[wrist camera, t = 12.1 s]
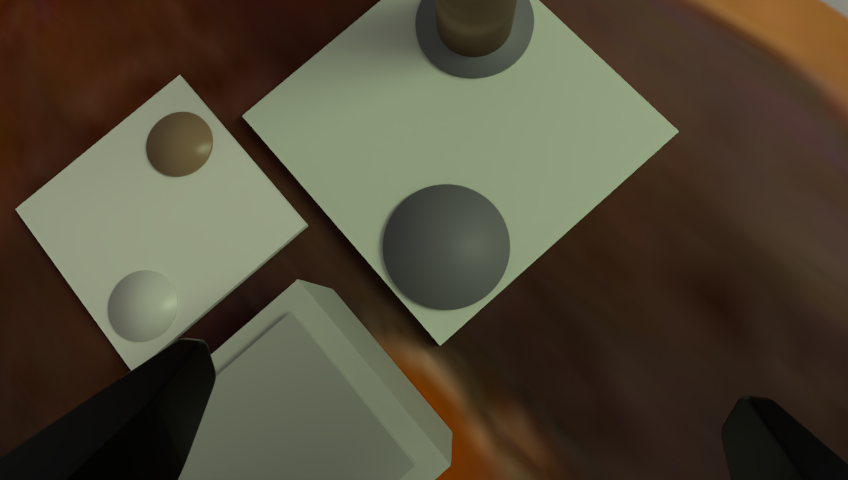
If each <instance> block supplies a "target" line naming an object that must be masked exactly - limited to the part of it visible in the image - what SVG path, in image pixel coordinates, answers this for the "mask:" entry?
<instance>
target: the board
mask: <svg viewBox="0 0 848 480" xmlns="http://www.w3.org/2000/svg"><path fill="white" fill-rule="evenodd" d="M242 117H243V118H244V119H245V120H246V121H247V122H248V124H249V125H250V126H251V127H252V128H253V129H254V131H255V132H256V133H257V134H258V135H259V136H260V137H261V139H262V140H263V141H264V142H265V143H266V144H267V146H268V147H269V148H270V149H271V150H272V151H273V153H274V154H275V155H276V156H277V157H278V158H279V160H280V161H281V162H282V163H283V164H284V165H285V166H286V168H287V169H288V170H289V171H290V172H291V173H292V175H293V176H294V177H295V178H296V179H297V180H298V182H299V183H300V184H301V185H302V186H303V187H304V189H305V190H306V191H307V192H308V193H309V194H310V195H311V197H312V198H313V199H314V200H315V201H316V202H317V204H318V205H319V206H320V207H321V208H322V209H323V211H324V212H325V213H326V214H327V215H328V216H329V218H330V219H331V220H332V221H333V222H334V223H335V224H336V226H337V227H338V228H339V229H340V230H341V231H342V233H343V234H344V235H345V236H346V237H347V238H348V240H349V241H350V242H351V243H352V244H353V245H354V247H355V248H356V249H357V250H358V251H359V252H360V253H361V255H362V256H363V257H364V258H365V259H366V260H367V262H368V263H369V264H370V265H371V266H372V267H373V269H374V270H375V271H376V272H377V273H378V274H379V276H380V277H381V278H382V279H383V280H384V281H385V282H386V284H387V285H388V286H389V287H390V288H391V289H392V291H393V292H394V293H395V294H396V295H397V296H398V298H399V299H400V300H401V301H402V302H403V303H404V305H405V306H406V307H407V308H408V309H409V310H410V311H411V313H412V314H413V315H414V316H415V317H416V318H417V320H418V321H419V322H420V323H421V324H422V325H423V327H424V328H425V329H426V330H427V331H428V332H429V334H430V335H431V336H432V337H433V338H434V339H435V340H436V342H437V343H438V344H439V345H442V344H443V343H444V342H445V341H446V340H447V339H448V338H449V337H451V336H452V335H453V334H454V333H455V332H456V331H457V330H458V329H459V328H461V327H462V326H463V325H464V324H465V323H466V322H467V321H468V320H469V319H471V318H472V317H473V316H474V315H475V314H476V313H477V312H478V311H479V310H481V309H482V308H483V307H484V306H485V305H486V304H487V303H488V302H490V301H491V300H492V299H493V298H494V297H495V296H496V295H497V294H498V293H500V292H501V291H502V290H503V289H504V288H505V287H506V286H507V285H508V284H510V283H511V282H512V281H513V280H514V279H515V278H516V277H517V276H518V275H520V274H521V273H522V272H523V271H524V270H525V269H526V268H527V267H528V266H530V265H531V264H532V263H533V262H534V261H535V260H536V259H537V258H539V257H540V256H541V255H542V254H543V253H544V252H545V251H546V250H547V249H549V248H550V247H551V246H552V245H553V244H554V243H555V242H556V241H557V240H559V239H560V238H561V237H562V236H563V235H564V234H565V233H566V232H567V231H569V230H570V229H571V228H572V227H573V226H574V225H575V224H576V223H578V222H579V221H580V220H581V219H582V218H583V217H584V216H585V215H586V214H588V213H589V212H590V211H591V210H592V209H593V208H594V207H595V206H596V205H598V204H599V203H600V202H601V201H602V200H603V199H604V198H605V197H606V196H608V195H609V194H610V193H611V192H612V191H613V190H614V189H615V188H617V187H618V186H619V185H620V184H621V183H622V182H623V181H624V180H625V179H627V178H628V177H629V176H630V175H631V174H632V173H633V172H634V171H635V170H637V169H638V168H639V167H640V166H641V165H642V164H643V163H644V162H645V161H647V160H648V159H649V158H650V157H651V156H652V155H653V154H654V153H655V152H657V151H658V150H659V149H660V148H661V147H662V146H663V145H664V144H666V143H667V142H668V141H669V140H670V139H671V138H672V137H673V136H674V135H676V134H677V133H678V132H679V131H678V130H677V129H676V128H675V127H674V126H673V125H671V124H670V123H669V122H668V121H667V120H666V119H665V118H664V117H663V116H662V115H661V114H660V113H659V112H658V111H657V110H655V109H654V108H653V107H652V106H651V105H650V104H649V103H648V102H647V101H646V100H645V99H644V98H643V97H642V96H641V95H639V94H638V93H637V92H636V91H635V90H634V89H633V88H632V87H631V86H630V85H629V84H628V83H627V82H626V81H624V80H623V79H622V78H621V77H620V76H619V75H618V74H617V73H616V72H615V71H614V70H613V69H612V68H611V67H610V66H608V65H607V64H606V63H605V62H604V61H603V60H602V59H601V58H600V57H599V56H598V55H597V54H596V53H595V52H594V51H592V50H591V49H590V48H589V47H588V46H587V45H586V44H585V43H584V42H583V41H582V40H581V39H580V38H579V37H578V36H576V35H575V34H574V33H573V32H572V31H571V30H570V29H569V28H568V27H567V26H566V25H565V24H564V23H563V22H562V21H560V20H559V19H558V18H557V17H556V16H555V15H554V14H553V13H552V12H551V11H550V10H549V9H548V8H547V7H546V6H544V5H543V4H542V3H541V2H540V1H539V0H517V3H516V8H515V14H514V19H513V24H512V29H511V33H510V35H509V37H508V39H507V40H506V42H505V43H504V44H503V45H502V46H501V47H500V48H499V49H498V50H496V51H494V52H493V53H491V54H488V55H485V56H481V57H467V56H463V55H459V54H457V53H455V52H453V51H452V50H450V49H449V48H448V47H447V46H446V45H445V44H444V43H443V42H442V40H441V38H440V37H439V34H438V30H437V21H436V4H435V0H380V1H379V2H378V3H377V4H376V5H374V6H373V7H372V8H371V9H370V10H368V11H367V12H366V13H365V14H364V15H362V16H361V17H360V18H359V19H358V20H356V21H355V22H354V23H353V24H352V25H350V26H349V27H348V28H347V29H346V30H344V31H343V32H342V33H341V34H340V35H338V36H337V37H336V38H335V39H334V40H332V41H331V42H330V43H329V44H328V45H326V46H325V47H324V48H323V49H322V50H320V51H319V52H318V53H317V54H316V55H314V56H313V57H312V58H311V59H310V60H308V61H307V62H306V63H305V64H304V65H302V66H301V67H300V68H299V69H298V70H296V71H295V72H294V73H293V74H292V75H290V76H289V77H288V78H287V79H286V80H284V81H283V82H282V83H281V84H280V85H278V86H277V87H276V88H275V89H274V90H272V91H271V92H270V93H269V94H268V95H266V96H265V97H264V98H263V99H262V100H260V101H259V102H258V103H257V104H256V105H254V106H253V107H252V108H251V109H250V110H248V111H247V112H246V113H245V114H244V115H242Z"/></svg>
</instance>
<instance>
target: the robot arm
mask: <svg viewBox="0 0 848 480" xmlns="http://www.w3.org/2000/svg"><path fill="white" fill-rule="evenodd" d="M215 380H216V371H215V367H214V364H213V361H212V357H211V354H210V351H209V348H208V345H207V343H206V342H205V341H204V340H199V339H189V338H182V339H179V340H177V341H175V342H174V343H172V344H171V345H169V346H168V347H166V348H165V349H163V350H162V351H160V352H159V353H157V354H156V355H154V356H153V357H151V358H150V359H148V360H147V361H145V362H144V363H142V364H141V365H139V366H138V367H136V368H135V369H133V370H132V371H130V372H129V373H127V374H126V375H124V376H123V377H121V378H120V379H118V380H117V381H115V382H114V383H112V384H111V385H109V386H108V387H106V388H105V389H103V390H102V391H100V392H99V393H97V394H96V395H94V396H93V397H91V398H89V399H88V400H86V401H85V402H83V403H82V404H80V405H79V406H77V407H76V408H74V409H73V410H71V411H70V412H68V413H67V414H65V415H64V416H62V417H61V418H59V419H58V420H56V421H55V422H53V423H52V424H50V425H49V426H47V427H46V428H44V429H43V430H41V431H40V432H38V433H37V434H35V435H34V436H32V437H31V438H29V439H28V440H26V441H25V442H23V443H22V444H20V445H19V446H17V447H16V448H14V449H13V450H11V451H10V452H8V453H7V454H5V455H4V456H2V457H1V458H0V480H178V479H179V477H180V474H181V472H182V470H183V468H184V466H185V463H186V461H187V458H188V455H189V453H190V450H191V447H192V445H193V442H194V439H195V437H196V434H197V431H198V428H199V426H200V423H201V420H202V417H203V415H204V412H205V409H206V406H207V404H208V401H209V398H210V396H211V393H212V390H213V387H214V384H215ZM722 442H723V447H724V451H725V455H726V460H727V464H728V469H729V473H730V477H731V480H848V464H847V463H846V462H845V461H844V460H843V459H841V458H840V457H839V456H838V455H837V454H836V453H834V452H833V451H832V450H831V449H830V448H829V447H827V446H826V445H825V444H824V443H823V442H822V441H820V440H819V439H818V438H817V437H816V436H815V435H813V434H812V433H811V432H810V431H809V430H808V429H806V428H805V427H804V426H803V425H802V424H801V423H799V422H798V421H797V420H796V419H795V418H794V417H792V416H791V415H790V414H789V413H788V412H787V411H785V410H784V409H783V408H782V407H781V406H780V405H779V404H777V403H776V402H775V401H773V400H771V399H769V398H764V397H754V396H743V397H741V398H740V399H739V400H738V401H737V403H736V405H735V406H734V408H733V410H732V411H731V413H730V415H729V417H728V418H727V420H726V422H725V423H724V425H723V429H722Z"/></svg>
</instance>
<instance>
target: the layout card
mask: <svg viewBox="0 0 848 480" xmlns="http://www.w3.org/2000/svg"><path fill="white" fill-rule="evenodd" d="M15 210H16V211H17V213H18V214H19V215H20V217H21V218H22V220H23V221H24V222H25V224H26V225H27V226H28V228H29V229H30V231H31V232H32V233H33V235H34V236H35V238H36V239H37V240H38V242H39V243H40V245H41V246H42V247H43V249H44V250H45V252H46V253H47V254H48V256H49V257H50V258H51V260H52V261H53V263H54V264H55V265H56V267H57V268H58V270H59V271H60V272H61V274H62V275H63V277H64V278H65V279H66V281H67V282H68V284H69V285H70V286H71V288H72V289H73V290H74V292H75V293H76V295H77V296H78V297H79V299H80V300H81V302H82V303H83V304H84V306H85V307H86V309H87V310H88V311H89V313H90V314H91V316H92V317H93V318H94V320H95V321H96V322H97V324H98V325H99V327H100V328H101V329H102V331H103V332H104V334H105V335H106V336H107V338H108V339H109V341H110V342H111V343H112V345H113V346H114V348H115V349H116V350H117V352H118V353H119V354H120V356H121V357H122V359H123V360H124V361H125V363H126V364H127V366H128V367H129V368H130V370H131V371H132V370H133V369H135V368H136V367H138V366H139V365H141V364H142V363H144V362H145V361H147V360H148V359H150V358H151V357H153V356H154V355H156V354H157V353H159V352H160V351H162V350H163V349H165V348H166V347H168V346H169V345H170V344H172V343H173V342H174V341H175V340H176V339H177V338H179V337H180V336H181V335H182V334H183V333H184V332H186V331H187V330H188V329H189V328H190V327H191V326H192V325H194V324H195V323H196V322H197V321H198V320H199V319H201V318H202V317H203V316H204V315H205V314H206V313H208V312H209V311H210V310H211V309H212V308H213V307H215V306H216V305H217V304H218V303H219V302H220V301H222V300H223V299H224V298H225V297H226V296H227V295H229V294H230V293H231V292H232V291H233V290H234V289H236V288H237V287H238V286H239V285H240V284H241V283H243V282H244V281H245V280H246V279H247V278H248V277H250V276H251V275H252V274H253V273H254V272H255V271H257V270H258V269H259V268H260V267H261V266H262V265H263V264H265V263H266V262H267V261H268V260H269V259H270V258H272V257H273V256H274V255H275V254H276V253H277V252H279V251H280V250H281V249H282V248H283V247H284V246H286V245H287V244H288V243H289V242H290V241H291V240H293V239H294V238H295V237H296V236H297V235H298V234H300V233H301V232H302V231H303V230H304V229H305V228H307V227H308V224H307V223H306V222H305V221H304V220H303V219H302V217H301V216H300V215H299V214H298V213H297V212H296V210H295V209H294V208H293V207H292V206H291V204H290V203H289V202H288V201H287V200H286V199H285V197H284V196H283V195H282V194H281V193H280V191H279V190H278V189H277V188H276V187H275V186H274V184H273V183H272V182H271V181H270V180H269V179H268V177H267V176H266V175H265V174H264V173H263V171H262V170H261V169H260V168H259V167H258V166H257V164H256V163H255V162H254V161H253V160H252V159H251V157H250V156H249V155H248V154H247V153H246V151H245V150H244V149H243V148H242V147H241V146H240V144H239V143H238V142H237V141H236V140H235V138H234V137H233V136H232V135H231V134H230V133H229V131H228V130H227V129H226V128H225V127H224V126H223V124H222V123H221V122H220V121H219V120H218V118H217V117H216V116H215V115H214V114H213V113H212V111H211V110H210V109H209V108H208V107H207V106H206V104H205V103H204V102H203V101H202V100H201V98H200V97H199V96H198V95H197V94H196V93H195V91H194V90H193V89H192V88H191V87H190V85H189V84H188V83H187V82H186V81H185V80H184V78H183V77H182V76H180V75H179V76H177V77H176V78H175V79H174V80H173V81H171V82H170V83H169V84H168V85H166V86H165V87H164V88H163V89H162V90H160V91H159V92H158V93H157V94H155V95H154V96H153V97H152V98H151V99H149V100H148V101H147V102H146V103H144V104H143V105H142V106H141V107H140V108H138V109H137V110H136V111H135V112H133V113H132V114H131V115H130V116H129V117H127V118H126V119H125V120H124V121H122V122H121V123H120V124H119V125H118V126H116V127H115V128H114V129H113V130H111V131H110V132H109V133H108V134H107V135H105V136H104V137H103V138H102V139H100V140H99V141H98V142H97V143H96V144H94V145H93V146H92V147H91V148H89V149H88V150H87V151H86V152H85V153H83V154H82V155H81V156H80V157H78V158H77V159H76V160H75V161H74V162H72V163H71V164H70V165H69V166H67V167H66V168H65V169H64V170H63V171H61V172H60V173H59V174H58V175H56V176H55V177H54V178H53V179H52V180H50V181H49V182H48V183H47V184H45V185H44V186H43V187H42V188H41V189H39V190H38V191H37V192H36V193H34V194H33V195H32V196H31V197H30V198H28V199H27V200H26V201H25V202H23V203H22V204H21V205H20V206H19V207H17V208H16V209H15Z"/></svg>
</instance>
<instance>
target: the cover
mask: <svg viewBox="0 0 848 480" xmlns="http://www.w3.org/2000/svg"><path fill="white" fill-rule="evenodd" d="M211 357H212V361H213V364H214V367H215V371H216V380H215V384H214V387H213V390H212V393H211V396H210V398H209V401H208V404H207V406H206V409H205V412H204V415H203V417H202V420H201V423H200V426H199V428H198V431H197V434H196V437H195V439H194V442H193V445H192V447H191V450H190V453H189V455H188V458H187V461H186V463H185V466H184V468H183V470H182V472H181V474H180V477H179V479H178V480H435V479H436V478H437V477H438V476H440V475H441V474H442V473H443V472H444V471H445V470H446V469H447V468H448V467H449V466H450V465H451V451H452V431H451V430H450V429H449V427H448V426H447V425H446V424H445V423H444V421H443V420H442V419H441V418H440V417H439V415H438V414H437V413H436V412H435V411H434V410H433V408H432V407H431V406H430V405H429V404H428V402H427V401H426V400H425V399H424V398H423V396H422V395H421V394H420V393H419V392H418V390H417V389H416V388H415V387H414V386H413V384H412V383H411V382H410V381H409V380H408V378H407V377H406V376H405V375H404V374H403V372H402V371H401V370H400V369H399V368H398V366H397V365H396V364H395V363H394V362H393V360H392V359H391V358H390V357H389V356H388V354H387V353H386V352H385V351H384V350H383V349H382V347H381V346H380V345H379V344H378V343H377V341H376V340H375V339H374V338H373V337H372V335H371V334H370V333H369V332H368V331H367V329H366V328H365V327H364V326H363V325H362V323H361V322H360V321H359V320H358V319H357V317H356V316H355V315H354V314H353V313H352V311H351V310H350V309H349V308H348V307H347V305H346V304H345V303H344V302H343V301H342V299H341V298H340V297H339V296H338V295H337V293H336V292H335V291H334V290H333V289H330V288H327V287H323V286H320V285H316V284H313V283H309V282H305V281H302V280H297V281H295V282H294V283H293V284H292V285H291V286H290V287H288V288H287V289H286V290H285V291H284V292H283V293H282V294H280V295H279V296H278V297H277V298H276V299H275V300H273V301H272V302H271V303H270V304H269V305H268V306H267V307H265V308H264V309H263V310H262V311H261V312H260V313H258V314H257V315H256V316H255V317H254V318H253V319H252V320H250V321H249V322H248V323H247V324H246V325H245V326H243V327H242V328H241V329H240V330H239V331H238V332H237V333H235V334H234V335H233V336H232V337H231V338H230V339H228V340H227V341H226V342H225V343H224V344H223V345H222V346H220V347H219V348H218V349H217V350H216V351H215V352H213V353H212V354H211Z"/></svg>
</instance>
